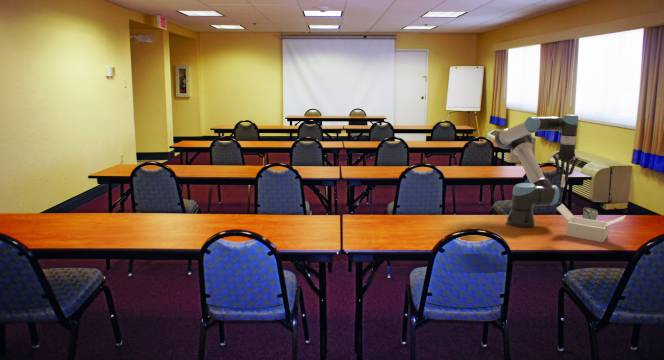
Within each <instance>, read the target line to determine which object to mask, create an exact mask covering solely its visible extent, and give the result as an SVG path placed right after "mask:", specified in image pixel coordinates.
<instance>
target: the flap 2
mask: <svg viewBox="0 0 664 360" xmlns="http://www.w3.org/2000/svg"><path fill="white" fill-rule="evenodd" d="M626 217H627V215H622V216H620V217H617V218H615V219H612V220H610V221H608V223H607V225H606V226H605V228H606V227H608V226H609V227H611V226H613V225H616V224H618V223H621V222H623V221H624V220H625V218H626Z"/></svg>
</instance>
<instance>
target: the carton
mask: <svg viewBox="0 0 664 360" xmlns="http://www.w3.org/2000/svg"><path fill="white" fill-rule="evenodd" d="M608 222H609V221H608ZM608 222H607V221H602V220H601V221H600V220H597V219H596V220H590V219H584V218H583V217H578V216H573V217H572V218H571V219H570V220H569V221H567V222H566V230H565V232H566V233H565V236H566V237H571V238H577V239H580V240H587V241H592V242H597V243H604V242H605V241H606V240H607V238H608V236H609V228H610V226H608V227H606V228H605V226H606V225H607V223H608Z"/></svg>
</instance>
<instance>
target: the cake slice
mask: <svg viewBox="0 0 664 360" xmlns="http://www.w3.org/2000/svg"><path fill="white" fill-rule="evenodd" d="M582 210H583V211H582V218H584V219H590V220H596V221H597V217H598V216H599V212H598V210H597V209H594V208H591V207H583V209H582Z"/></svg>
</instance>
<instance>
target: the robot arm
mask: <svg viewBox="0 0 664 360" xmlns="http://www.w3.org/2000/svg"><path fill="white" fill-rule="evenodd" d="M578 126H579V116H578V115H577V114H564V115H563V116H562V117H561V116H560V117H559V116H556V115H555V116H553V115H552V116H529V117H527V118H526V119H525V121H524V122H521V123H519V124H517V125H514V126H512V127H510V128H504V129H501V130H499V131H498V132H496V134H495V136H494V142H495V145H496V146H497V147H498V148H500V149H503V150H511V151H512V153H513V154H514V155H515V156H517V157H518V160H519V161H520V163H521V166H522V169H523V170H524V173H525V174H526V177H527V179H528V182H520V183H517V184H515V185H514V186H513V187H512V197H511V209H510V212H509V214H508V215H507V219H506V224H508V225H510V226H513V227H518V228H532V227H535V224H536V221H535V216H534V207H540V206H544V207H545V206H546V207H547V206H554V205H556V204H557V203H558V201H559V199H560V189H559V187H558V186H557V185H555V184H552V183H551V182H550V179H548V178H546V177H545V175H544V174H543V173H544V172H543V171H542V169H541V167H540V165H539V162H538V161H537V158H536V156H535V154H534V152H533V150H532V149H533V145H534V137H533V135H532V134H534V133H536V132H541V131H542V132H543V131H549V132H550V131H553V132H555V131H556V132H557V131H558V132H561V133H560V134H561V135H560V141H559V142H560V144H559V150H558V153H557V154H555V155H553V156H552V157H553V159H554V165H555V170H556V174H559V181H560V182H561V183H560V187H561V188H565V186H566V182H568V180H569V176H571V175H572V174H573V172H574V170H575V167H576V165H577V163H578V161H579V160H580V157H578V156H576V152H575V150H576V142H577V134H578ZM559 158H560V161H559ZM572 160H573V162H572V165H571V167H570V164H571V161H572ZM560 163H561V164H560ZM565 163H566V164H565Z"/></svg>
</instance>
